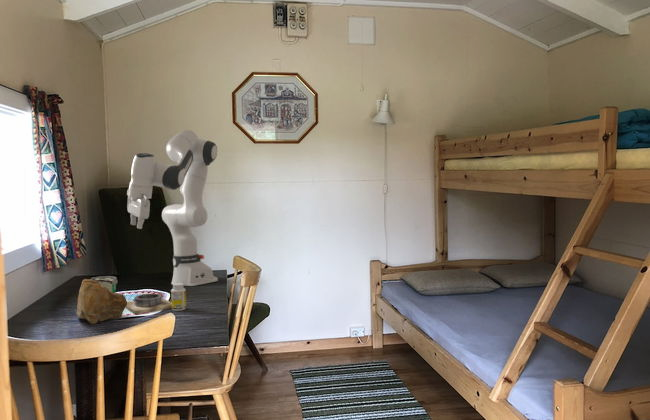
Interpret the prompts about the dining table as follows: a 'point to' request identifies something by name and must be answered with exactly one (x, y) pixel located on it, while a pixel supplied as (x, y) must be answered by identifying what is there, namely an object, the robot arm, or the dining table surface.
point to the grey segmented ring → (148, 300)
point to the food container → (107, 282)
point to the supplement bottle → (178, 297)
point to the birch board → (138, 310)
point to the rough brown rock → (99, 302)
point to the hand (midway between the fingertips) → (136, 226)
